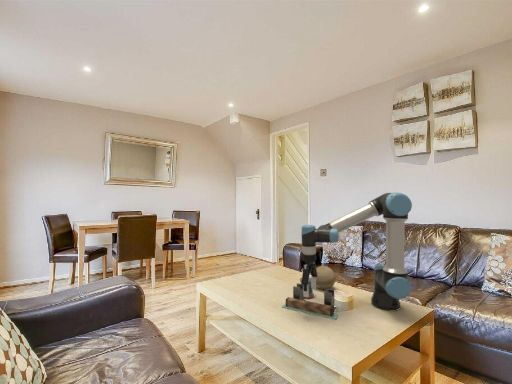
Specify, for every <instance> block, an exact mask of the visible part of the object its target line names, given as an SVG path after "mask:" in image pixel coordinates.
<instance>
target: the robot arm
mask: <svg viewBox="0 0 512 384" xmlns="http://www.w3.org/2000/svg"><path fill="white" fill-rule="evenodd" d="M412 207H413V204H412V200H411V198H410V197H409V196H408V195H406V194H405V193H402V192H386V193H382V194H381V195H379V196H377V197H375V198H374V199H372V200H369V201H368V203H367V204H366V205H364V206H361V207H359V208H357V209H355V210H353V211H351V212H349V213H346V214H345V215H343V216H341V217H339V218H337V219H334V220H332V221H330V222H328V223H326V224H324V225H323V224H321V225H320V226H318V227H317V228H316V226H315V225H313V224H304V225H302V226H301V232H300V233H301V248H300V249H301V253H302V254H301V260H302V262H304V263H305V264H303V265H302V274H301V275H302V277H301V278H302V283H301V282H300V284H303V297H309V284H308V280H309V278H311V288H312V290H316V289H317V285H316V277H317V276H318V275H317V270H316V269H317V267H316V261H317V244H318V243H321V244H327V243H328V244H333V243H334V244H335V243H338V242H339V239H340V237H339V233H341V232H344V231H345V230H347V229H349V228H352V227H354V226H356V225H359V224H361V223H362V222H365V221H367V220H369V219H371V218H373V217H378V218H379V217H380V216H382V219H384V220H385V226H386V227H385V264H376V265H374V269H373V273H374V276H373V279H374V280H373V281H374V282H373V283H374V285H373V286H374V290H373V293H372V296H371V298H370V299H371V300H370V302H371V303H370V304H371V305H372V306H373V307H374V308H377V309H379V308H380V309H379V310H383V309H384V310H383V311H389V310H395V311H398V310H397V309H399V308H400V309H401V301H400V300H402V299H405V298H407V297H408V296H410V294H411V292H412V284H411V282H410V280H408V278H409V277H408V276H409V275H408V274H409V273H408V270H407V269H406V268H405V223H406V221H407V220H408V219H409V213H410V212H411V211H412V209H413V208H412ZM310 275H311V276H310ZM400 309H399V310H400Z"/></svg>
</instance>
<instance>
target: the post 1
mask: <svg viewBox="0 0 512 384" xmlns="http://www.w3.org/2000/svg"><path fill="white" fill-rule="evenodd" d="M292 295H293V296H292V298H294V299H299V300H304V301H307V300H306V299H305V298H304V297H303V284H301V283H299V282H297V283H296V286H295V285H293V287H292Z"/></svg>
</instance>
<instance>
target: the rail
mask: <svg viewBox="0 0 512 384" xmlns="http://www.w3.org/2000/svg"><path fill="white" fill-rule="evenodd" d="M304 300H305V299H304ZM304 300H299V299H294V298H293V297H286V298H285V303H286V307H290V308H295V309H299V310H304V311H308V312H313V313H317V314H322V315H326V316H331V317H333V315H334V313H335V311H334V306H335V305H334V306H329V305H324V303H318V302H314V301H308V300H306V301H304Z"/></svg>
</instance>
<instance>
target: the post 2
mask: <svg viewBox="0 0 512 384" xmlns="http://www.w3.org/2000/svg"><path fill="white" fill-rule="evenodd" d="M323 304H324V305H329V306H335V289H331V288H329V289H326V291H323ZM335 310H337V307H334V312H335Z"/></svg>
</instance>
